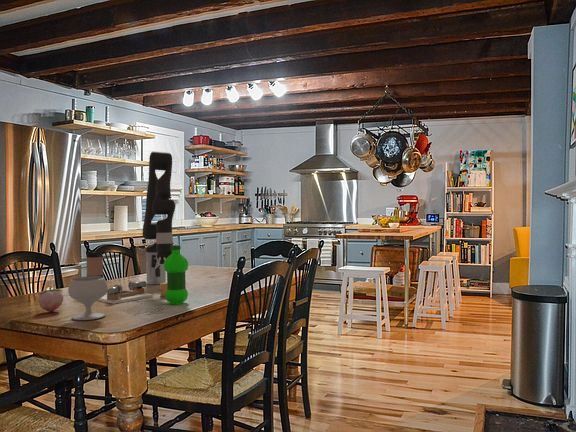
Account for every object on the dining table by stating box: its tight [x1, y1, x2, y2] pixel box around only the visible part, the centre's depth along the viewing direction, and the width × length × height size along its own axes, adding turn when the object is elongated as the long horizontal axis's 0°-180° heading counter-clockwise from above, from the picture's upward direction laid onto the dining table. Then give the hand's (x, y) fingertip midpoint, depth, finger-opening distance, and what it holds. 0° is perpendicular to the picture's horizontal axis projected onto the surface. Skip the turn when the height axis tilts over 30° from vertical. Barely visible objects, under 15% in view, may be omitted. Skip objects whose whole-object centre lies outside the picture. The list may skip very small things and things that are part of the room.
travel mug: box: [85, 250, 104, 277], centre depth 257 cm, size 8×8×20 cm
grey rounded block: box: [106, 284, 123, 300], centre depth 231 cm, size 8×5×6 cm, turn 174°
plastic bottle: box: [164, 244, 189, 306], centre depth 224 cm, size 10×10×25 cm
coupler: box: [159, 282, 167, 298], centre depth 243 cm, size 5×5×6 cm
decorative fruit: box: [38, 287, 64, 313], centre depth 210 cm, size 9×8×10 cm
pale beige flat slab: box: [97, 290, 154, 304], centre depth 239 cm, size 20×18×3 cm
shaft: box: [127, 280, 148, 294], centre depth 245 cm, size 8×5×6 cm, turn 139°
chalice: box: [67, 276, 109, 321], centre depth 198 cm, size 14×14×15 cm
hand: (165, 277), depth 243 cm, fingers open, 8 cm apart
